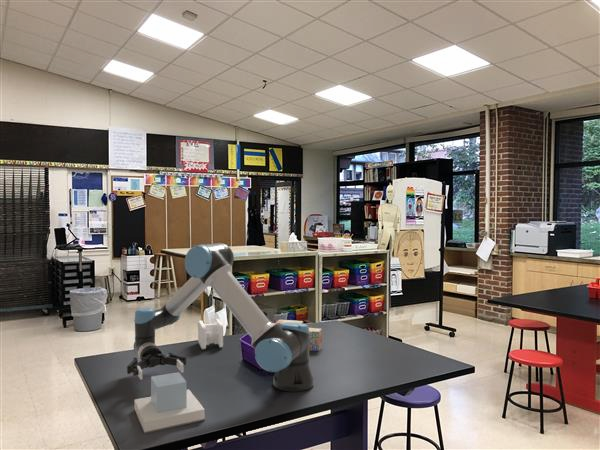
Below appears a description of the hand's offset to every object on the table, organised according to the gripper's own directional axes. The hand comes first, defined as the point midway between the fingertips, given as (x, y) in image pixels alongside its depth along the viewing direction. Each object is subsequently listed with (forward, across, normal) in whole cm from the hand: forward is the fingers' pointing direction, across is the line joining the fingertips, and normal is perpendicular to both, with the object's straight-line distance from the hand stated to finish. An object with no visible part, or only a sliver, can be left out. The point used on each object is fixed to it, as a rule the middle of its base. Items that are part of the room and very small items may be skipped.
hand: (162, 372), depth 156 cm
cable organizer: (-56, -34, -11) cm, 67 cm away
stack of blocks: (-34, -71, -11) cm, 79 cm away
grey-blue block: (+10, 0, -10) cm, 14 cm away
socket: (+10, 0, -11) cm, 15 cm away
